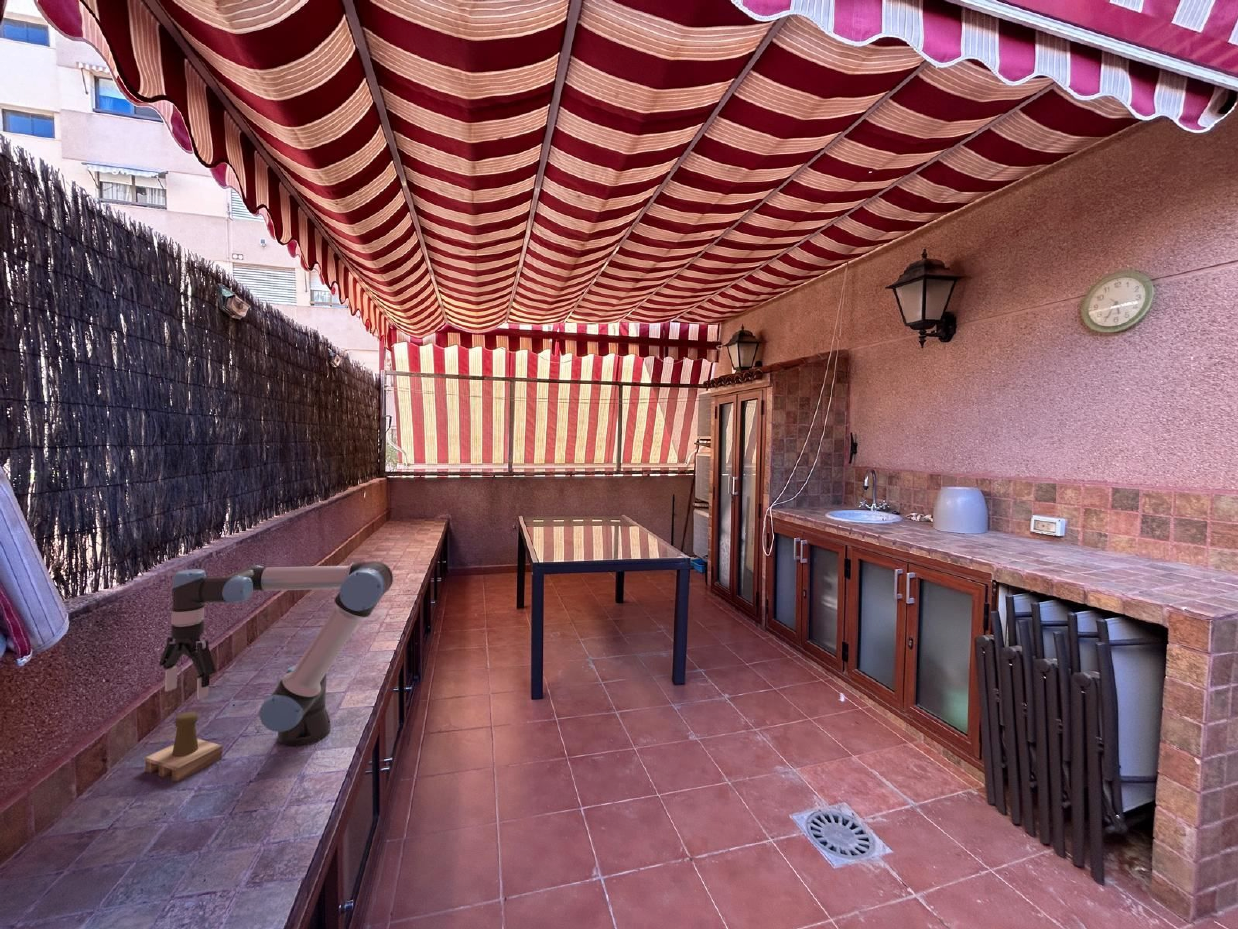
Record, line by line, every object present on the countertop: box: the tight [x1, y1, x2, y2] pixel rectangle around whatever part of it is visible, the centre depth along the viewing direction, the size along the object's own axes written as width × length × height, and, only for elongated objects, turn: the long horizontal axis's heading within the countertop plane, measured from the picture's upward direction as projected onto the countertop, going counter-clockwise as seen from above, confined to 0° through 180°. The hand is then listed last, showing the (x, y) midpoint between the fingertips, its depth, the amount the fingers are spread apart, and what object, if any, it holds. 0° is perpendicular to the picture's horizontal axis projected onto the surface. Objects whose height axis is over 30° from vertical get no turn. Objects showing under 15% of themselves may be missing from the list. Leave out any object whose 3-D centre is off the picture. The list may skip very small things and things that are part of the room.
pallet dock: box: [144, 738, 223, 782], centre depth 153 cm, size 14×12×4 cm
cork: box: [172, 711, 198, 757], centre depth 153 cm, size 6×6×11 cm
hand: (186, 693), depth 153 cm, fingers open, 13 cm apart
